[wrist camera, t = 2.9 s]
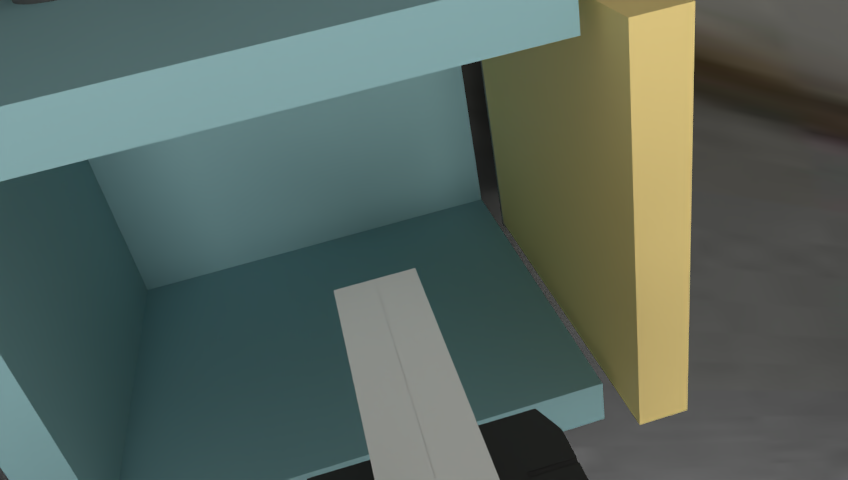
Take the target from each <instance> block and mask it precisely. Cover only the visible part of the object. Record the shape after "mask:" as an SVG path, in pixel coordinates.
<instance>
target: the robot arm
mask: <svg viewBox="0 0 848 480" xmlns="http://www.w3.org/2000/svg"><path fill="white" fill-rule="evenodd" d="M334 295H335V299H336V304H337V308H338V313H339V318H340V322H341V327H342V332H343V336H344V341H345V345H346V350H347V355H348V359H349V364H350V369H351V373H352V378H353V382H354V387H355V392H356V396H357V401H358V405H359V410H360V415H361V419H362V424H363V429H364V433H365V438H366V442H367V447H368V452H369V456H370V460H368V461H364V462H361V463H358V464H354V465H351V466H347V467H344V468H341V469H337V470H334V471H331V472H327V473H324V474H321V475H317V476H314V477H311V478H307V480H588V478H587V476H586V475H585V473H584V471H583V469H582V467H581V465H580V463H578V461H577V459H576V456H575V454H574V452H573V450H572V448H571V446H570V444H569V442H568V441H567V439H566V437H565V435H564V433H563V431H562V429H561V428H560V427H558V426H557V425H556V424H555V423H553V422H552V421H551V420H550V419H548V418H547V417H546V416H544V415H543V414H542V413H541V412H539V411H538V410H537V409H536V408H535V409H532V410H528V411H525V412H522V413H518V414H515V415H511V416H508V417H505V418H501V419H498V420H495V421H491V422H488V423H485V424H481V425H478V424H477V421H476V419H475V416H474V414H473V411H472V409H471V406H470V404H469V401H468V399H467V396H466V394H465V391H464V389H463V386H462V384H461V381H460V379H459V376H458V374H457V371H456V369H455V366H454V364H453V361H452V359H451V356H450V354H449V351H448V349H447V346H446V344H445V341H444V339H443V336H442V334H441V331H440V329H439V326H438V324H437V321H436V319H435V316H434V314H433V311H432V309H431V306H430V304H429V301H428V299H427V296H426V294H425V291H424V289H423V286H422V284H421V281H420V279H419V276H418V274H417V271H416V269H415V268H413V269H410V270H406V271H402V272H399V273H395V274H391V275H388V276H384V277H380V278H377V279H373V280H369V281H366V282H362V283H359V284H355V285H351V286H348V287H344V288H340V289H337V290H334Z"/></svg>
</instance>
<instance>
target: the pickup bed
mask: <svg viewBox="0 0 848 480" xmlns="http://www.w3.org/2000/svg"><path fill="white" fill-rule="evenodd" d="M577 36H581V34H580V18H579V2H578V0H0V468H1V469H2V471H3V472H4V473H5V475H6V476H7V478H8V479H9V480H307V478H311V477H314V476H317V475H321V474H324V473H327V472H331V471H334V470H337V469H341V468H344V467H347V466H351V465H354V464H358V463H361V462H364V461H368V460H370V456H369V452H368V447H367V442H366V438H365V433H364V429H363V424H362V419H361V415H360V410H359V405H358V401H357V396H356V392H355V387H354V382H353V378H352V373H351V369H350V364H349V359H348V355H347V350H346V345H345V341H344V336H343V332H342V327H341V322H340V318H339V313H338V308H337V304H336V299H335V295H334V290H337V289H340V288H344V287H348V286H351V285H355V284H359V283H362V282H366V281H369V280H373V279H377V278H380V277H384V276H388V275H391V274H395V273H399V272H402V271H406V270H410V269H413V268H415V269H416V271H417V274H418V276H419V279H420V281H421V284H422V286H423V289H424V291H425V294H426V296H427V299H428V301H429V304H430V306H431V309H432V311H433V314H434V316H435V319H436V321H437V324H438V326H439V329H440V331H441V334H442V336H443V339H444V341H445V344H446V346H447V349H448V351H449V354H450V356H451V359H452V361H453V364H454V366H455V369H456V371H457V374H458V376H459V379H460V381H461V384H462V386H463V389H464V391H465V394H466V396H467V399H468V401H469V404H470V406H471V409H472V411H473V414H474V416H475V419H476V421H477V424H478V425H481V424H485V423H488V422H491V421H495V420H498V419H501V418H505V417H508V416H511V415H515V414H518V413H522V412H525V411H528V410H532V409H535V408H536V409H537V410H538V411H539V412H541V413H542V414H543V415H544V416H546V417H547V418H548V419H550V420H551V421H552V422H553V423H555V424H556V425H557V426H558V427H560V428H561V429H562V431H566V430H569V429H573V428H576V427H579V426H582V425H585V424H589V423H592V422H595V421H598V420H602V419H605V417H604V401H603V385H602V382H601V381H600V379H599V377H598V376H597V374H596V373H595V371H594V370H593V368H592V367H591V365H590V364H589V362H588V361H587V359H586V358H585V356H584V355H583V353H582V352H581V350H580V349H579V347H578V346H577V344H576V343H575V341H574V339H573V338H572V336H571V335H570V333H569V332H568V330H567V329H566V327H565V326H564V324H563V323H562V321H561V320H560V318H559V317H558V315H557V314H556V312H555V311H554V309H553V308H552V306H551V304H550V303H549V301H548V300H547V298H546V297H545V295H544V294H543V292H542V291H541V289H540V288H539V286H538V285H537V283H536V282H535V280H534V279H533V277H532V276H531V274H530V273H529V271H528V269H527V268H526V266H525V265H524V263H523V262H522V260H521V259H520V257H519V256H518V254H517V253H516V251H515V250H514V248H513V247H512V245H511V244H510V242H509V241H508V239H507V238H506V236H505V235H504V233H503V231H502V230H501V228H500V227H499V225H498V224H497V222H496V221H495V219H494V218H493V216H492V215H491V213H490V212H489V210H488V209H487V207H486V206H485V204H484V203H483V201H482V200H481V194H480V187H479V181H478V174H477V167H476V161H475V154H474V148H473V141H472V135H471V128H470V121H469V115H468V108H467V102H466V95H465V89H464V82H463V75H462V69H461V65H465V64H469V63H473V62H477V61H481V60H485V59H489V58H493V57H497V56H501V55H505V54H509V53H513V52H517V51H521V50H525V49H529V48H533V47H537V46H541V45H545V44H549V43H553V42H557V41H561V40H565V39H569V38H573V37H577Z"/></svg>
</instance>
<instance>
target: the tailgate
mask: <svg viewBox="0 0 848 480" xmlns="http://www.w3.org/2000/svg"><path fill="white" fill-rule="evenodd" d="M578 2H579V18H580V34H581V36H577V37H573V38H569V39H565V40H561V41H557V42H553V43H549V44H545V45H541V46H537V47H533V48H529V49H525V50H521V51H517V52H513V53H509V54H505V55H501V56H497V57H493V58H489V59H485V60H481V61H480V63H481V70H482V78H483V85H484V92H485V99H486V107H487V114H488V121H489V129H490V136H491V143H492V150H493V158H494V165H495V172H496V179H497V187H498V194H499V201H500V209H501V216H502V223H503V225H504V226H505V227H506V228H507V229H508V230H509V232H510V233H511V235H512V236H513V237H514V239H515V240H516V242H517V243H518V245H519V246H520V248H521V249H522V251H523V252H524V254H525V255H526V257H527V258H528V260H529V261H530V263H531V264H532V266H533V267H534V269H535V270H536V272H537V273H538V275H539V276H540V278H541V279H542V281H543V282H544V283H545V285H546V286H547V288H548V289H549V291H550V292H551V294H552V295H553V297H554V298H555V300H556V301H557V303H558V304H559V306H560V307H561V309H562V310H563V312H564V313H565V315H566V316H567V318H568V319H569V321H570V322H571V324H572V325H573V327H574V328H575V330H576V331H577V332H578V334H579V335H580V337H581V338H582V340H583V341H584V343H585V344H586V346H587V347H588V349H589V350H590V352H591V353H592V355H593V356H594V358H595V359H596V361H597V362H598V364H599V365H600V367H601V368H602V370H603V371H604V373H605V374H606V376H607V377H608V379H609V380H610V381H611V383H612V384H613V386H614V387H615V389H616V390H617V392H618V393H619V395H620V396H621V398H622V399H623V401H624V402H625V404H626V405H627V407H628V408H629V410H630V411H631V413H632V414H633V416H634V417H635V419H636V420H637V422H638V423H639V425H641V424H644V423H648V422H651V421H654V420H657V419H660V418H664V417H667V416H670V415H673V414H676V413H680V412H683V411H686V410H687V400H688V348H689V296H690V244H691V193H692V141H693V89H694V37H695V1H694V0H578Z"/></svg>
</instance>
